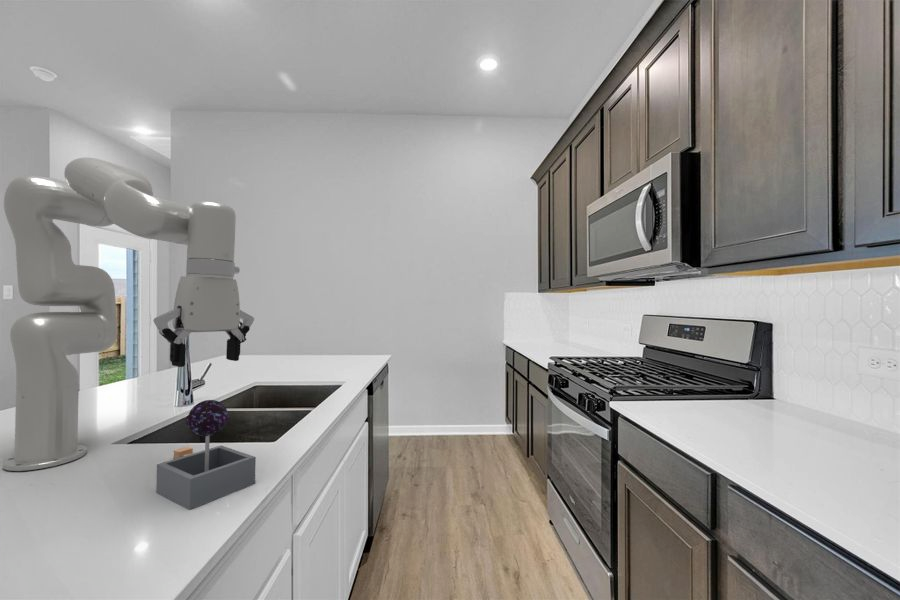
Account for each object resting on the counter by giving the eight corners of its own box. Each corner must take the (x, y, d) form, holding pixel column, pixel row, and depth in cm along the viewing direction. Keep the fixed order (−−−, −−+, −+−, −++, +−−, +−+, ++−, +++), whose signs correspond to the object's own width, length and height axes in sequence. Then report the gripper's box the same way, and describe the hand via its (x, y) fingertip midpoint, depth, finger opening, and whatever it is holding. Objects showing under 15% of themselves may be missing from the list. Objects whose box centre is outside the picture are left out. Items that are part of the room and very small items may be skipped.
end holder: (156, 492, 72) (156, 464, 72) (220, 470, 81) (221, 445, 81) (189, 509, 66) (190, 479, 66) (255, 483, 75) (255, 456, 76)
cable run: (171, 457, 88) (171, 447, 88) (191, 453, 90) (191, 443, 90) (186, 481, 76) (186, 470, 76) (209, 476, 79) (209, 464, 79)
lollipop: (218, 471, 78) (220, 394, 79) (233, 481, 74) (236, 400, 74) (178, 482, 73) (180, 400, 73) (192, 494, 69) (194, 406, 69)
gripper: (243, 274, 83) (240, 356, 83) (146, 266, 69) (142, 366, 69) (265, 274, 80) (262, 360, 79) (168, 265, 65) (164, 371, 65)
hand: (206, 362), depth 74 cm, fingers open, 9 cm apart
